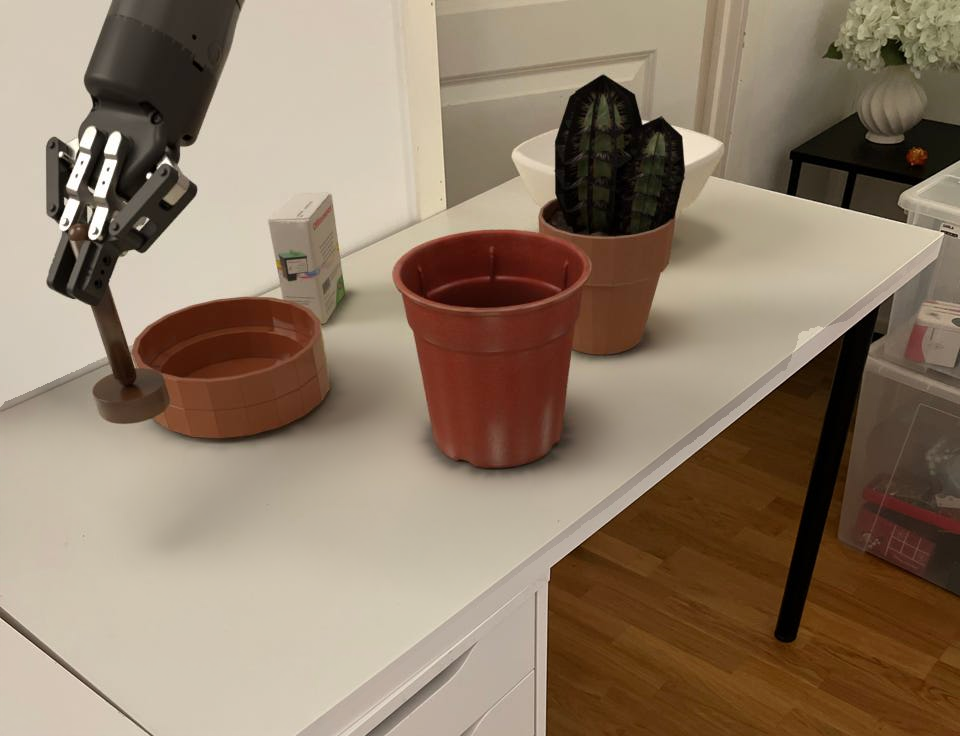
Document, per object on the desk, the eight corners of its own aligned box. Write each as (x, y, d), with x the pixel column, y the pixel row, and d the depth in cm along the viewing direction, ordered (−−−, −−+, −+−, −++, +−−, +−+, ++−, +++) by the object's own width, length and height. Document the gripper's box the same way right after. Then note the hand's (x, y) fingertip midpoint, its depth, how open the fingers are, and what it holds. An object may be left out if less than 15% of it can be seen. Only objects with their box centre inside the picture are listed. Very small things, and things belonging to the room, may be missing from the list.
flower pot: (530, 504, 83) (529, 325, 72) (375, 455, 89) (352, 285, 78) (614, 416, 93) (624, 247, 82) (469, 378, 99) (460, 218, 88)
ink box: (307, 292, 117) (290, 190, 109) (347, 293, 116) (332, 191, 108) (285, 323, 111) (265, 217, 103) (326, 325, 110) (309, 218, 102)
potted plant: (567, 376, 99) (573, 105, 82) (520, 322, 108) (516, 70, 91) (687, 351, 102) (717, 85, 85) (631, 301, 111) (647, 53, 94)
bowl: (606, 201, 136) (610, 109, 128) (736, 240, 123) (749, 141, 115) (490, 246, 125) (487, 150, 117) (620, 294, 113) (626, 190, 105)
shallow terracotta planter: (117, 400, 99) (97, 340, 95) (263, 338, 108) (252, 281, 104) (214, 465, 89) (197, 401, 85) (366, 392, 98) (358, 331, 94)
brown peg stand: (87, 407, 73) (22, 226, 64) (148, 382, 75) (94, 204, 66) (121, 432, 70) (58, 245, 61) (183, 404, 73) (132, 222, 63)
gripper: (53, 1, 64) (-38, 251, 65) (193, 19, 57) (89, 295, 59) (139, 73, 70) (55, 299, 72) (273, 96, 64) (178, 343, 65)
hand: (71, 296), depth 65 cm, fingers closed on brown peg stand
